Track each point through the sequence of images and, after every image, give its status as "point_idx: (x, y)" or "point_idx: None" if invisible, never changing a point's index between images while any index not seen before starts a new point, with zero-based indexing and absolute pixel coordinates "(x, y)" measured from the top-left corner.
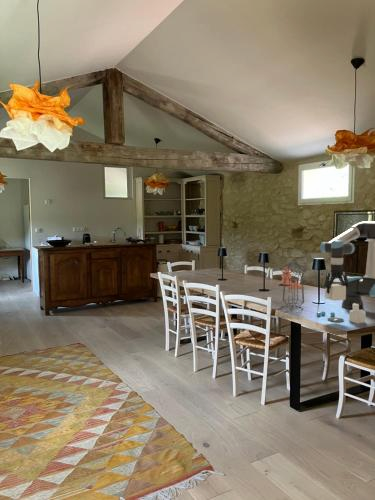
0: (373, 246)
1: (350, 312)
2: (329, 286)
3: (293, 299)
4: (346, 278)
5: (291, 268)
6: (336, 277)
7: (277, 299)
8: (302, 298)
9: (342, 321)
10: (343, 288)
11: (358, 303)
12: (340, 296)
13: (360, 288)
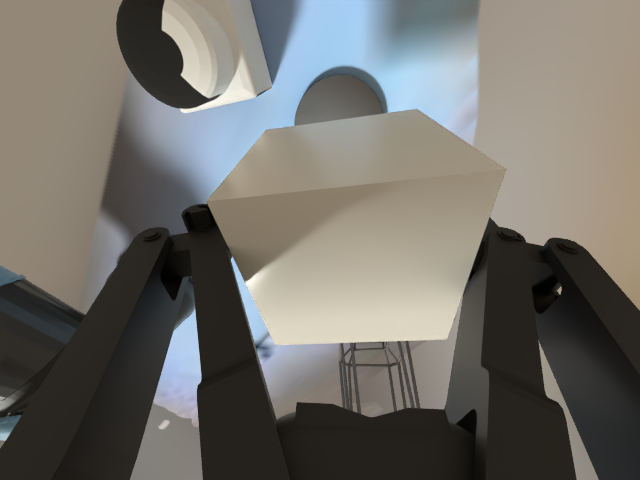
0: None
1: (255, 78)
2: (514, 250)
3: (352, 365)
4: (76, 374)
5: None
6: (420, 445)
7: (348, 387)
8: (353, 351)
9: (322, 79)
10: (273, 174)
11: (150, 62)
12: (335, 130)
13: (49, 337)
